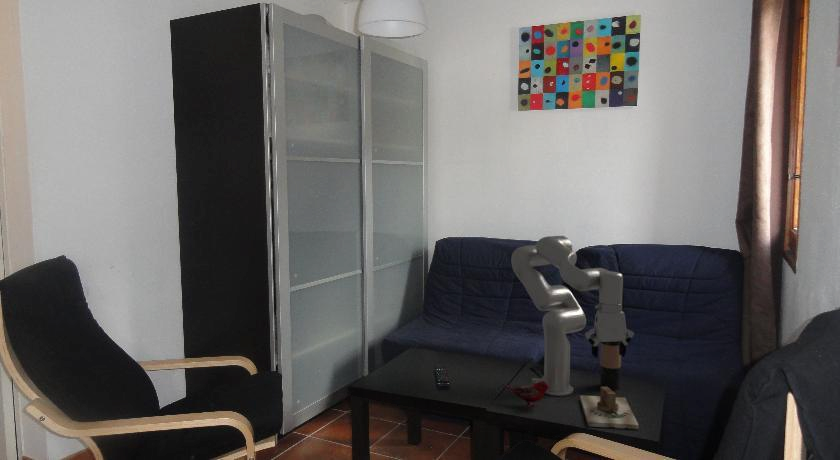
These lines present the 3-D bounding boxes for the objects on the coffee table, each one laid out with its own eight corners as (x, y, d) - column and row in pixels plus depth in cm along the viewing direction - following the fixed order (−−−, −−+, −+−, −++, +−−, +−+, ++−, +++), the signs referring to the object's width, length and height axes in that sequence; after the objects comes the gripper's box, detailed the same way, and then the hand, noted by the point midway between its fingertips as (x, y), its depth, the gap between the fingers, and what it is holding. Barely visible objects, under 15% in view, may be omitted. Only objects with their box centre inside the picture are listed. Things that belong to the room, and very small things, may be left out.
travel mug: (620, 391, 228) (621, 340, 226) (599, 389, 231) (600, 338, 229) (620, 384, 235) (621, 335, 233) (600, 382, 238) (601, 333, 236)
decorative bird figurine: (548, 411, 209) (548, 383, 208) (500, 402, 217) (501, 375, 216) (550, 408, 212) (551, 381, 211) (503, 399, 220) (504, 373, 219)
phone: (547, 365, 257) (562, 376, 243) (547, 367, 258) (562, 379, 243) (530, 366, 256) (544, 377, 241) (530, 368, 256) (544, 380, 241)
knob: (593, 404, 210) (594, 387, 209) (612, 404, 211) (613, 386, 210) (606, 416, 200) (607, 398, 199) (626, 415, 200) (627, 397, 200)
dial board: (588, 426, 197) (588, 421, 196) (580, 399, 220) (580, 394, 220) (638, 429, 194) (638, 424, 194) (624, 401, 218) (625, 397, 218)
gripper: (590, 310, 199) (588, 360, 201) (639, 309, 201) (637, 358, 203) (581, 305, 207) (580, 353, 208) (629, 304, 209) (627, 352, 210)
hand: (608, 356), depth 206 cm, fingers open, 9 cm apart
